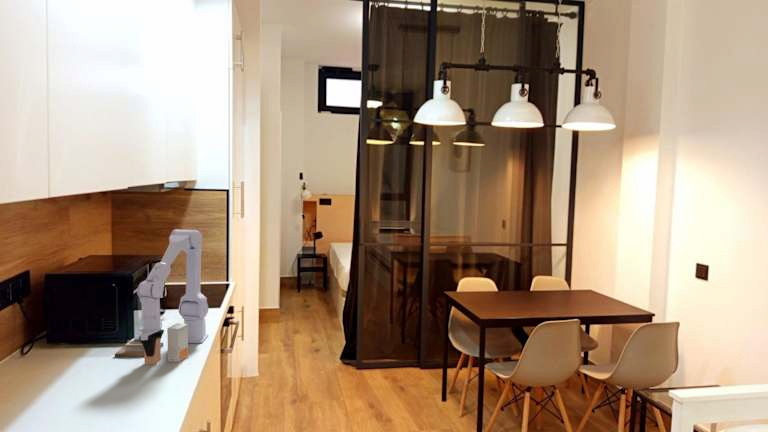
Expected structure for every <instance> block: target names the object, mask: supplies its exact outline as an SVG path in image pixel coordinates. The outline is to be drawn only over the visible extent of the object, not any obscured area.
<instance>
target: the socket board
mask: <svg viewBox="0 0 768 432" xmlns="http://www.w3.org/2000/svg"><path fill="white" fill-rule="evenodd" d="M163 346H164V342H160V349H162V348H163ZM132 357H133V358H134V357H136V358H137V357H140V358H141V357H144V347H143V345H142V343H141V342H140V341H139V337H138V338H137V337H135V338H134V337H133V338H132V339H130V340H129V341H127V343H125V344H124V345H123V347H121V348H120V349H118V351H116V352H115V353H114V358H132Z"/></svg>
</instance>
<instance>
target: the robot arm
mask: <svg viewBox="0 0 768 432" xmlns="http://www.w3.org/2000/svg"><path fill="white" fill-rule="evenodd" d="M168 241H169V244H168V246H167V249H166V251H165V253H164V254H163V257H162V258H161V260H160V262H156V263H155V264H154V265H153V267H152V269H151V270H150V272H149V274H148V276H147V277H146V279H145V280H143V281H141V282H140V283H139V284H138V286H137V290H136V294H137V296H138V297H139V298H138V299H139V302H140V303H141V321H142V322H141V323H142V326H141V327H139V329H138V331H139V332H141V334H140V336H139V337H138V338H139V341H140V342H141V343H142V345H143V347H144V349H145V353H146V356H147V357H150V356H154V351H155V343H156V340H157V338H159V337H160V341H161V340H162V337H163V335H164V333H165V330H164V329H162V327H163V322H162V321H161V303H160V300H161V299H160V297H161V296H162V295H163V293H164V287H165V282H166V280H167V279H168V277H169V275H170V274H171V271H172V269H171V265H173V263H174V261H175V260H176V258H177V257H178V255H179V254H180V252H181V251H183V252H184V253H185V254H186V257H185V259H186V261H185V262H186V263H185V264H186V265H185V294H184V295H182V296H181V297H180V298H179V299H180V301H179V305H178V314H179V315H180V316H181V319H182V320H183V324H187V327H188V344H203V342H204V341H205V340H206V339H207V337H209V334H208V333H206V332H207V329H206V328H207V327H206V326H207V325H206V316H207V315H208V313H209V305H208V297H207V296H205V295H204V294H203V293H202V292H201V280H202V279H201V275H202V274H201V272H202V250H203V234H202V233H201V232H200V231H199V230H197V229H178V228H175V229H173V230H172V232H171V234H170V236H169V237H168Z"/></svg>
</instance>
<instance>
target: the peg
mask: <svg viewBox="0 0 768 432" xmlns="http://www.w3.org/2000/svg"><path fill="white" fill-rule="evenodd" d="M160 343H161V340H160V337H159V338H157V340H156V343H155V351H154V356H150V357H147V356H146V353H145V349H144V356H143V357H144V365H157V364H158V363H159V362H160V361H161V360H162V356H161V355H162V354H161V352H162V351H161V350H162V348H160Z"/></svg>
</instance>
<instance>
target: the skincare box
mask: <svg viewBox="0 0 768 432" xmlns="http://www.w3.org/2000/svg"><path fill="white" fill-rule="evenodd" d="M166 331H167V362H169V363H180V362H181V361H183V360H185V359H186V358H188V357H189V343H188V327H187V324H184V323H179V322H178V323H175V324H173V325H171V326H169V327H168V328H167V330H166Z"/></svg>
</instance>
